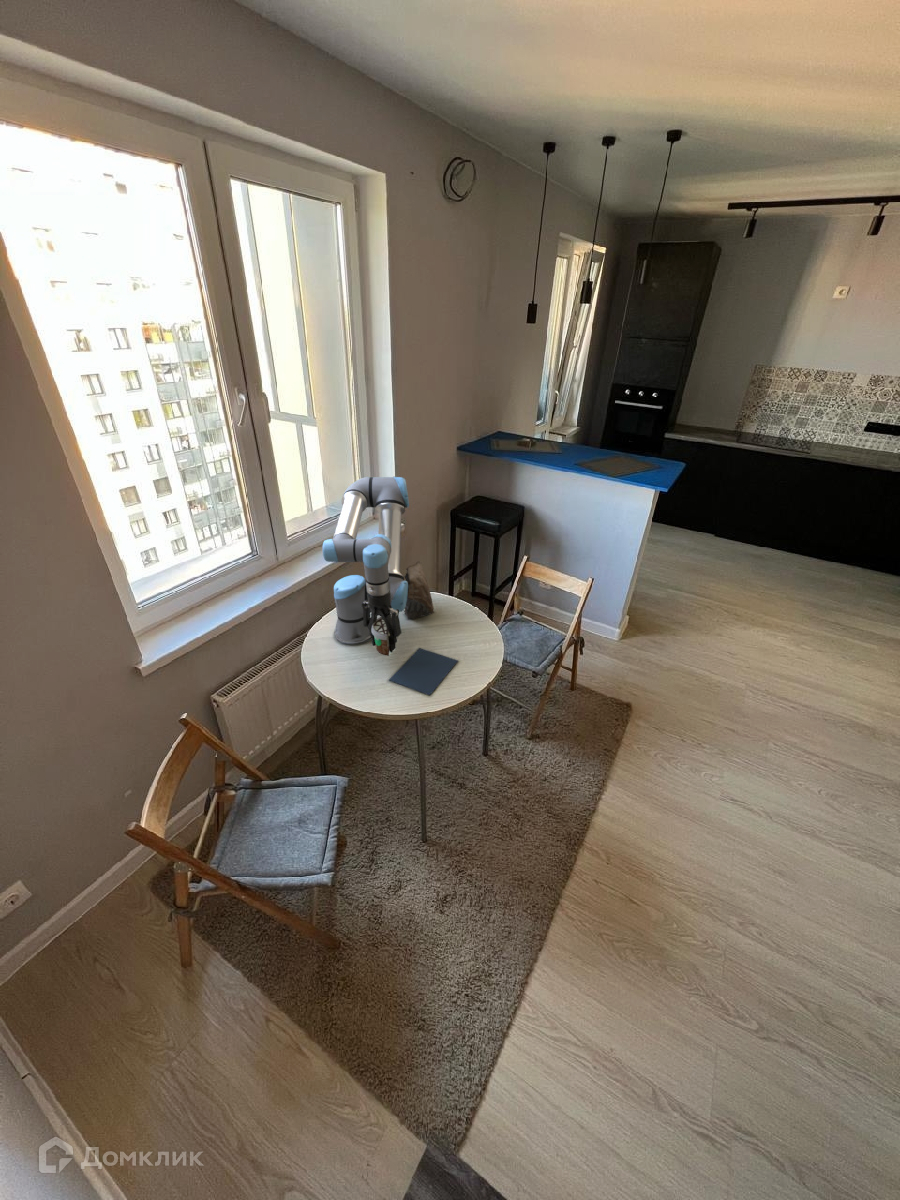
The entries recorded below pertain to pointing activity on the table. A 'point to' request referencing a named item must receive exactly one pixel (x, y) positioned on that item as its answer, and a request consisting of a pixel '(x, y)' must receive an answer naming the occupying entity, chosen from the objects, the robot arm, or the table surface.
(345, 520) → the robot arm
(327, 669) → the table surface
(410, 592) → the brown tall lump
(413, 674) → the mat
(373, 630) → the food container
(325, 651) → the table surface
